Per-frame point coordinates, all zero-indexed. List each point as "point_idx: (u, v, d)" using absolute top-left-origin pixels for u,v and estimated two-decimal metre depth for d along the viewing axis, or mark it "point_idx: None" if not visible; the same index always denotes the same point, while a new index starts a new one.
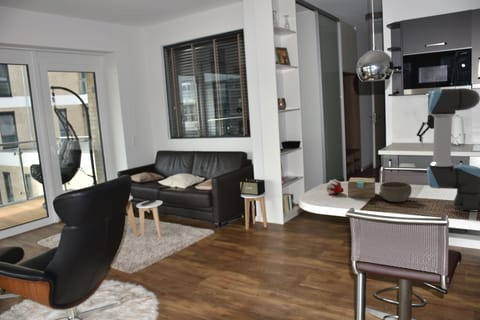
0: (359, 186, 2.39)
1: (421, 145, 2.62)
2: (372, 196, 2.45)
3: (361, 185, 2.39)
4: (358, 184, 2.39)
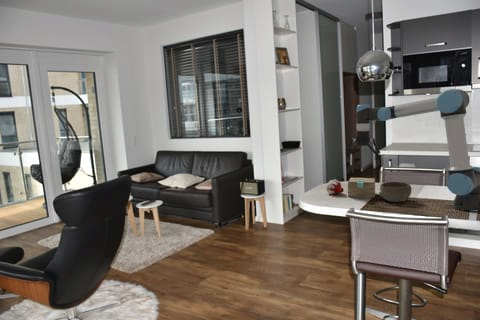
0: (359, 186, 2.39)
1: (350, 163, 2.42)
2: (372, 196, 2.45)
3: (361, 185, 2.39)
4: (358, 184, 2.39)
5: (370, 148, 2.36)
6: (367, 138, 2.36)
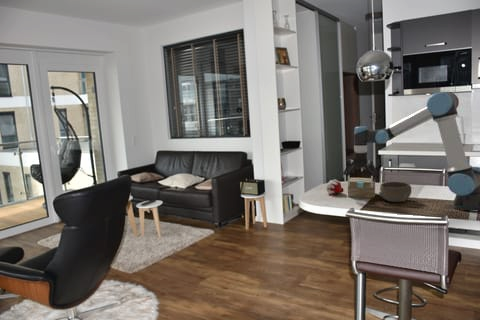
0: (359, 186, 2.39)
1: None
2: (372, 196, 2.45)
3: (361, 185, 2.39)
4: (358, 184, 2.39)
5: (368, 170, 2.38)
6: (365, 160, 2.37)
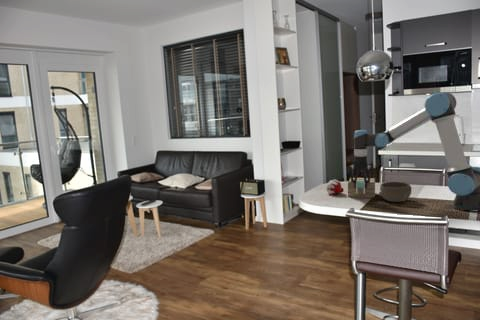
0: (359, 186, 2.39)
1: (356, 192, 2.42)
2: (372, 196, 2.45)
3: (361, 185, 2.39)
4: (358, 184, 2.39)
5: (363, 175, 2.39)
6: (366, 163, 2.37)
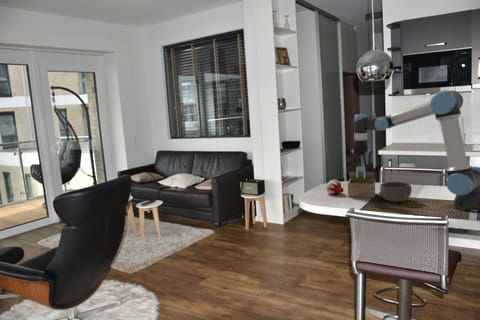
0: (359, 169, 2.40)
1: (356, 176, 2.42)
2: (372, 196, 2.45)
3: (361, 168, 2.40)
4: (358, 168, 2.40)
5: None
6: (366, 147, 2.38)
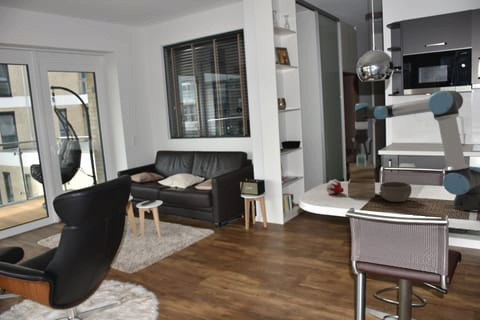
0: (360, 156, 2.44)
1: None
2: (372, 196, 2.45)
3: (362, 156, 2.44)
4: (359, 155, 2.45)
5: (364, 147, 2.44)
6: (366, 136, 2.43)
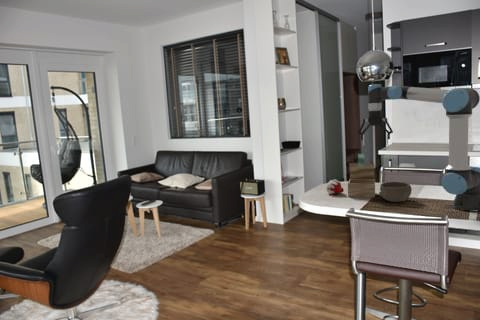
0: (360, 156, 2.44)
1: (363, 144, 2.42)
2: (372, 196, 2.45)
3: (362, 156, 2.44)
4: (359, 155, 2.45)
5: (383, 128, 2.37)
6: (379, 118, 2.37)
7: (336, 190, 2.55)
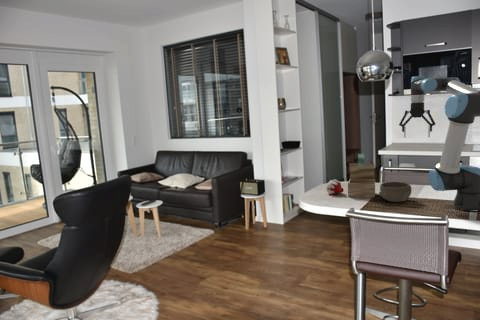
0: (360, 156, 2.44)
1: (404, 135, 2.43)
2: (372, 196, 2.45)
3: (362, 156, 2.44)
4: (359, 155, 2.45)
5: (425, 120, 2.37)
6: (422, 110, 2.37)
7: (336, 190, 2.55)
